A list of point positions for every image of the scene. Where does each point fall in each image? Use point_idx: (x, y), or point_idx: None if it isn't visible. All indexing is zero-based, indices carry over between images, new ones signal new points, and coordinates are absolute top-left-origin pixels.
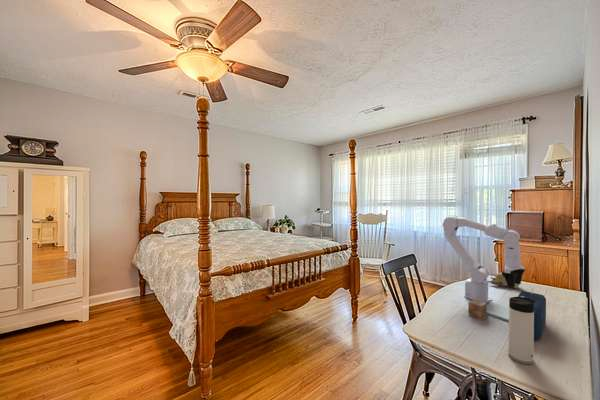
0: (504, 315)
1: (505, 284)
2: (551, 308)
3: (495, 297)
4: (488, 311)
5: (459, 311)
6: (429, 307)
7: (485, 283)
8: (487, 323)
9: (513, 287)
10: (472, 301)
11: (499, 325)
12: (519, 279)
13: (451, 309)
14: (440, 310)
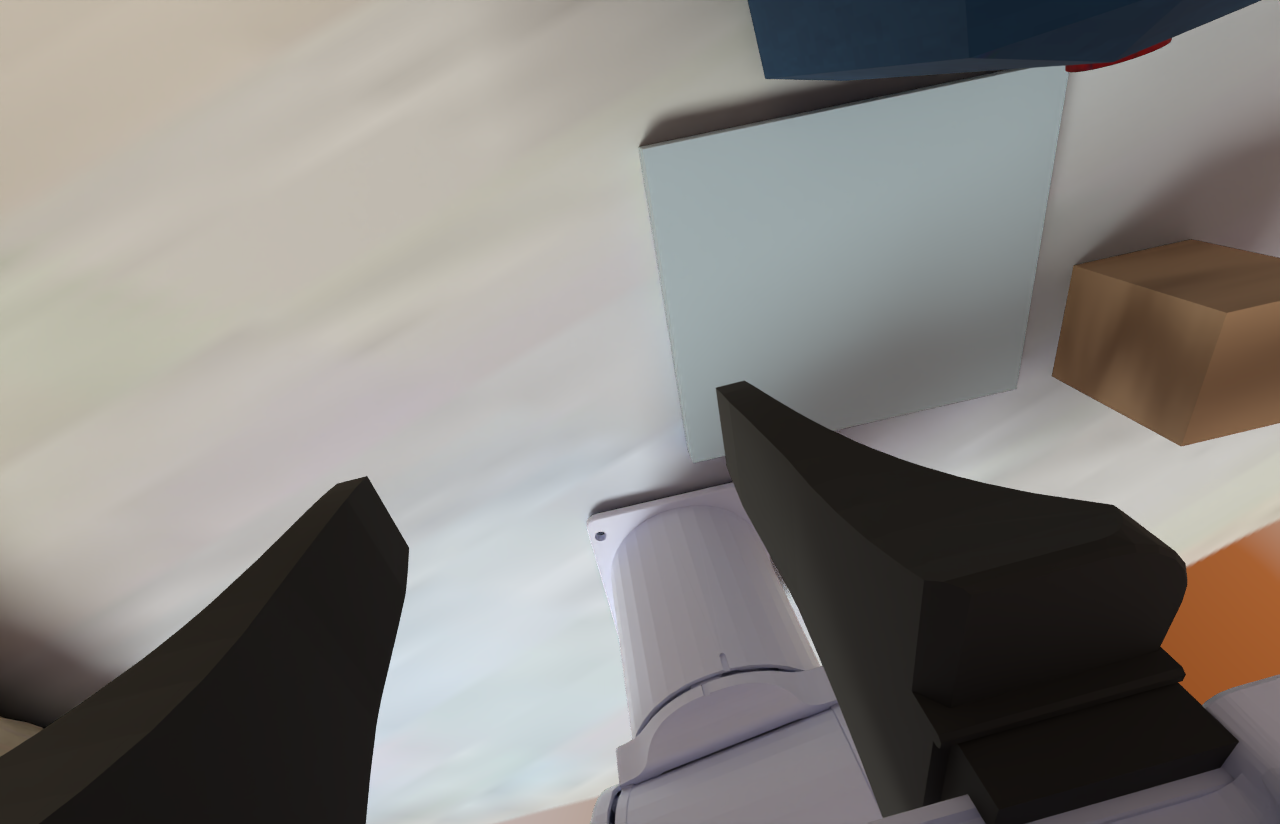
0: (975, 174)
1: (30, 736)
2: (3, 72)
3: (473, 549)
4: (995, 315)
5: (1121, 432)
6: (1202, 550)
7: (778, 679)
8: (1236, 159)
9: (750, 385)
10: (1259, 414)
11: (1210, 67)
12: (327, 565)
13: (1125, 479)
14: (1207, 491)
